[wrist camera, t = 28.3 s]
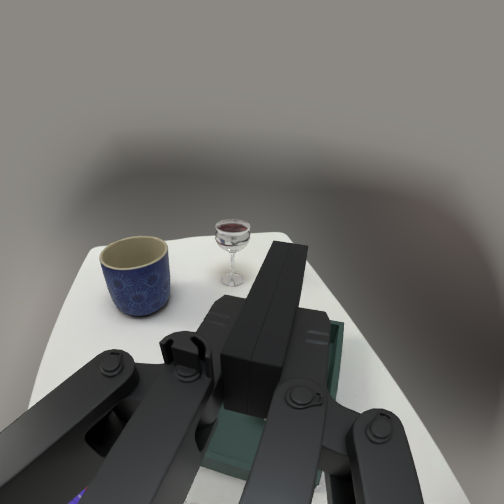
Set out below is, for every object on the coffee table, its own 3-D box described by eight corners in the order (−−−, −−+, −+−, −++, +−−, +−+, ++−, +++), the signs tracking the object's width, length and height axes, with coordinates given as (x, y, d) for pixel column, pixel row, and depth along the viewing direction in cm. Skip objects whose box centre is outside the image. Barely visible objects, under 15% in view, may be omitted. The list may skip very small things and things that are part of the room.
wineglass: (242, 291, 55) (244, 235, 49) (210, 284, 56) (209, 229, 51) (252, 274, 61) (255, 222, 55) (223, 268, 62) (222, 217, 57)
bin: (337, 344, 42) (344, 322, 40) (308, 493, 21) (318, 484, 18) (235, 321, 47) (235, 299, 45) (160, 448, 25) (150, 432, 23)
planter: (174, 320, 46) (167, 266, 41) (107, 324, 43) (91, 271, 38) (173, 281, 57) (168, 233, 52) (117, 285, 54) (107, 238, 49)
